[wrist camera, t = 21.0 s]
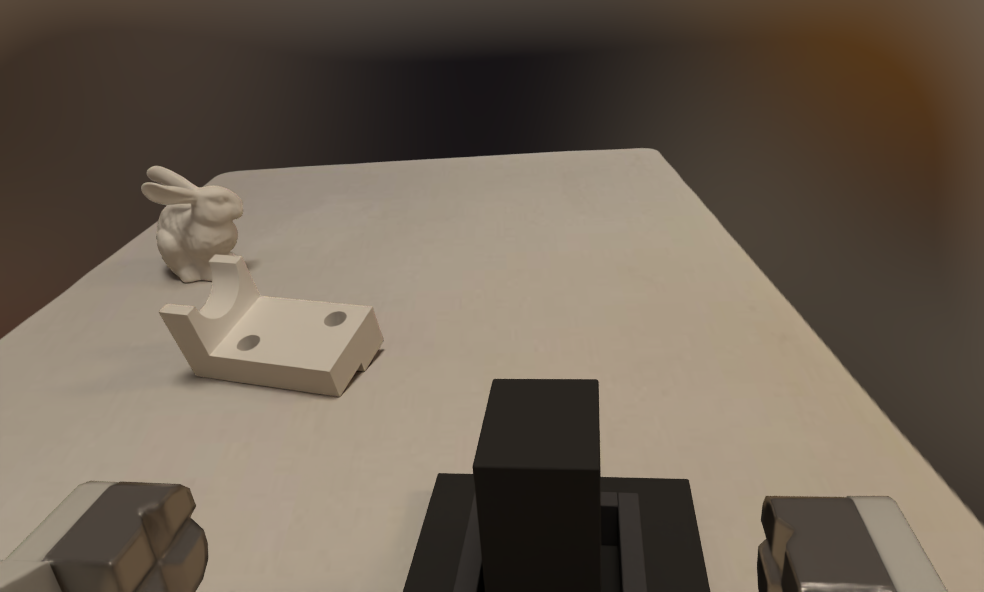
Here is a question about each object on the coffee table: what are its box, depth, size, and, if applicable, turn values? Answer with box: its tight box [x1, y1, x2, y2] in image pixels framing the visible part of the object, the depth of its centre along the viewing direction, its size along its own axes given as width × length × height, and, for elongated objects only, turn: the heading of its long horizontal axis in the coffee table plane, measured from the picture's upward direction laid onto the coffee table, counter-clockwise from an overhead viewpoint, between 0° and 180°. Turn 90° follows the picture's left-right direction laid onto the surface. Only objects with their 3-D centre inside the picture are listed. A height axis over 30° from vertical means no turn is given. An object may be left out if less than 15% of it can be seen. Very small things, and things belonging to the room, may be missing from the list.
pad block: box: [473, 379, 601, 592], centre depth 30 cm, size 4×6×10 cm
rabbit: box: [141, 166, 243, 283], centre depth 74 cm, size 12×9×12 cm
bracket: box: [159, 254, 384, 397], centre depth 54 cm, size 13×7×8 cm, turn 70°
